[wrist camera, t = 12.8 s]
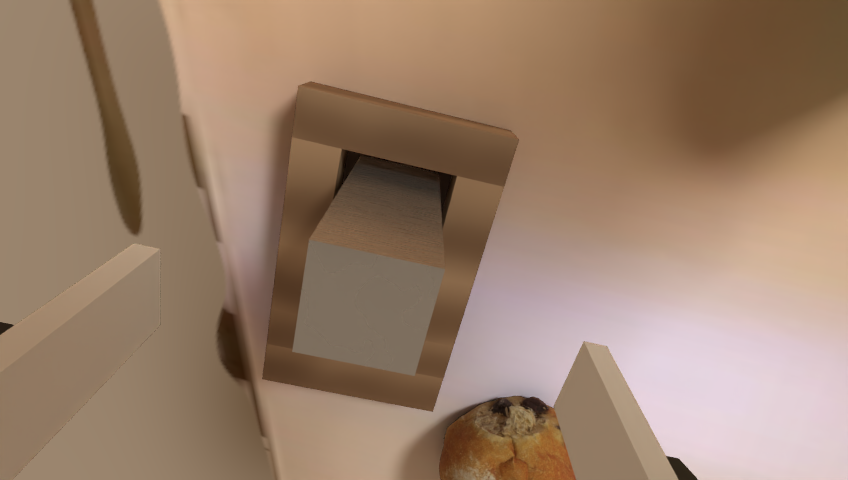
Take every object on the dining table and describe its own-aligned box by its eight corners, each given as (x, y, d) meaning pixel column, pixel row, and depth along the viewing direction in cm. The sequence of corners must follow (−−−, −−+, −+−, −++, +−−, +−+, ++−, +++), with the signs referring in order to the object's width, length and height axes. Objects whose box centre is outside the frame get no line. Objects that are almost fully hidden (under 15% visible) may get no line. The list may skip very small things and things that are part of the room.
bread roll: (427, 408, 38) (401, 515, 32) (499, 364, 31) (482, 493, 25) (525, 455, 40) (516, 564, 34) (615, 424, 32) (622, 556, 27)
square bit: (360, 155, 26) (309, 239, 15) (438, 173, 26) (445, 268, 15) (347, 227, 28) (292, 351, 17) (420, 243, 28) (414, 376, 17)
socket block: (310, 81, 24) (298, 85, 22) (510, 130, 25) (519, 139, 23) (274, 354, 31) (262, 379, 29) (432, 385, 32) (432, 411, 30)
